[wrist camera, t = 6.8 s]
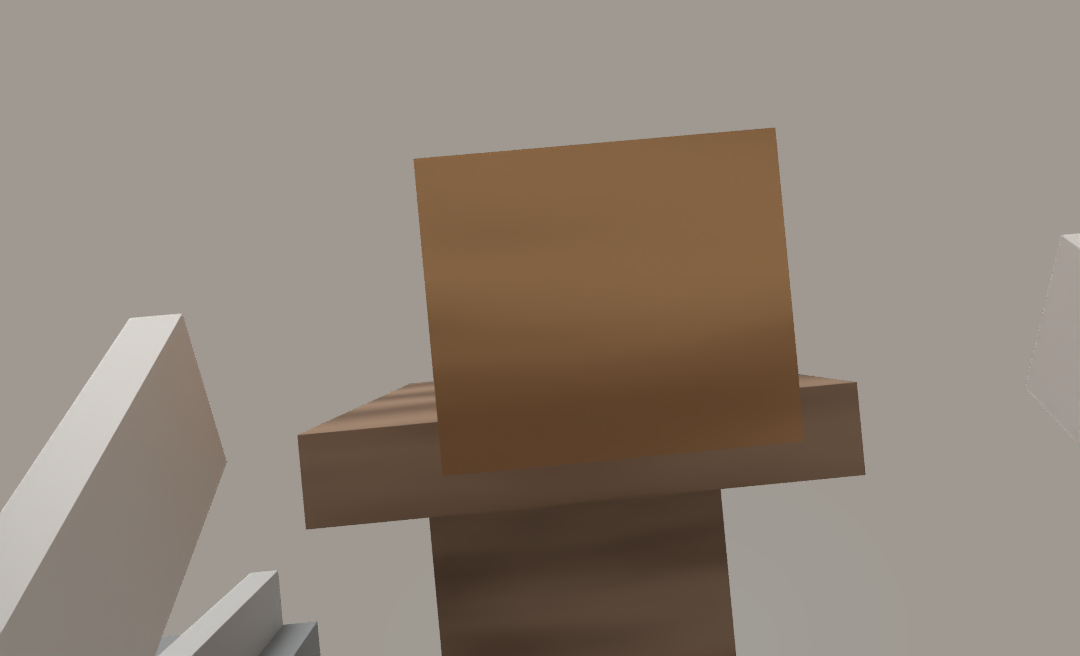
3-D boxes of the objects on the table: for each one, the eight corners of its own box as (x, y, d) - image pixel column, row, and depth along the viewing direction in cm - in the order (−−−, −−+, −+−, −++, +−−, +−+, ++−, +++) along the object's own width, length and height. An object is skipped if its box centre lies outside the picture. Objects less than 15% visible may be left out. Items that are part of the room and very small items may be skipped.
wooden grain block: (804, 440, 12) (775, 127, 12) (442, 476, 12) (413, 158, 12) (624, 376, 31) (613, 256, 31) (487, 388, 30) (476, 269, 31)
